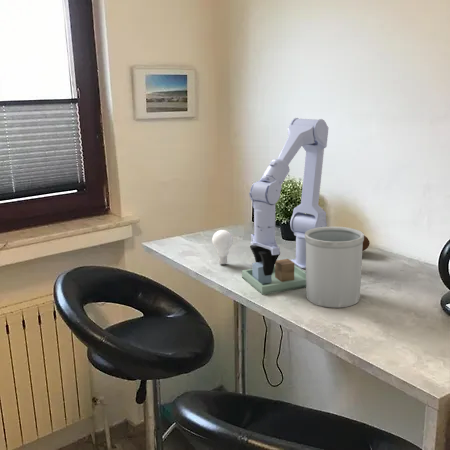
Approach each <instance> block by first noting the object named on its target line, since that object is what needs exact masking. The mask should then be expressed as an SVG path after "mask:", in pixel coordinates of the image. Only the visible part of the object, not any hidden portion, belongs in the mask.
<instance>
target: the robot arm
mask: <svg viewBox="0 0 450 450" xmlns="http://www.w3.org/2000/svg"><path fill="white" fill-rule="evenodd" d="M328 135H329V126H328V125H327V123H326V121H325V120H324V119H322V118H319V119H315V118H298V117H295V118H293V119H292V120H291V121H290V123H289V125H288V126H287V139H285V142H284V144H283V146H282V149H281V150H280V153H279V154H278V157H277V158H273V159H271V161H270V162H269V165H267V167H266V169H265V170H264V172H263V174H262V175H261V178H260V179H259V180H257V181H255V182H254V183H252V184H251V186H250V189H249V191H250V192H249V193H248V195H249V198H250V201H251V203H252V204H251V207H252V208H253V215H254V216H253V217H254V218H253V221H254V225H253V226H254V227H253V229H254V230H253V231H254V233H251V234H250V239H251V240H250V243H249V244H250V246H249V247H250V250H251V252H252V254H253V257H254V260H255V263H256V262H262V263H263V271H264V275H265V276H267V275H272V273H273V270H274V266H275V263H276V260H278V259H279V256H281V251H280V247H279V246H278V243H277V239H276V204H277V202H278V201H279V200H280V197H281V191H282V188H283V186H282V185H283V183H284V181H285V180H286V178H287V176H288V174H289V173H290V170H291V169H290V166H289V164H290V163H291V162H292V160H293V159H294V158H295V156H296V155H297V153H298V152H299V151H300V149H302V148H303V149H304V151H305V157H304V167H303V170H304V171H303V177H302V190H301V198H300V199H301V200H300V204H298V205H297V206H295V207H294V208H293V212H292V215H291V217H290V222H289V225H290V230H291V232H293V235H294V236H295V258H294V259H293V258H292V259H290V260H291V261H292V262H294V265H296V266H297V267H299V268H300V269H302V270H304V269H306V240H305V232H306V231H308V230H310V229H314V228H319V227H328V226H327V225H328V224H327V219H326V218H327V215H326V214H327V212H326V211H325V210H324V209H323V208H322V207H321V206H320V205H319V202H320V201H319V200H320V193H321V192H320V191H321V183H322V173H323V163H324V155H325V149H326V148H327V146H328V139H329V138H328V137H329V136H328ZM301 147H302V148H301Z"/></svg>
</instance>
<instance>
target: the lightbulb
mask: <svg viewBox="0 0 450 450" xmlns="http://www.w3.org/2000/svg"><path fill="white" fill-rule="evenodd" d="M211 242H212V245H213V247H214V248H215V250H216V252H217V255H218V264H220V265H222V266H223V265H226V264H227V263H228V255H229V250H230V249H231V247H232V245H233V243H234V237H233V235H232V233H231V232H229V230H226V229H219V230H217V231H216V232H214V233H213V235H212V238H211Z"/></svg>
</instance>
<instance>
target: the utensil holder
mask: <svg viewBox="0 0 450 450" xmlns="http://www.w3.org/2000/svg"><path fill="white" fill-rule="evenodd" d="M364 236H365V234H364V232H362V231H361V230H359V229H355V228H352V227H348V226H347V227H345V226H327V227H319V228H314V229H310V230H308V231H306V232H305V240H306V268H305V272H306V287H305V288H306V289H305V291H306V299H307V300H308V301H309V302H310V303H312V304H314V305H317V306H320V307H324V308H335V309H337V308H347V307H351V306H354V305H355V304H357V303H358V302H360V298H361V296H360V295H361V285H362V267H363V266H362V264H363V262H362V261H363V251H362V249H363V241H364Z"/></svg>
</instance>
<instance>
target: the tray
mask: <svg viewBox="0 0 450 450" xmlns="http://www.w3.org/2000/svg"><path fill="white" fill-rule="evenodd" d="M241 278H242V279H243V280H244V281H245V282H247V283H248V284H249V285H250V286H251V287H253V288H254V289H255V290H256V292H258V293H259V294H261V295H268V294H276V293H280V292H286V291H292V290H297V289H305V288H306V270H304V269H302V268H300V267H299V266H297V265H296V264H294V280H290V281H284V282H281V281H280V280H278V279H277V278H275V266H274V270H273V273H272V275H271V278H272V282H271V283H265V284H261V283H260V282H259V281H257V280H256V279H255V278H254V277H253V276H252V268H249V269H243V270H242V269H241Z"/></svg>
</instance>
